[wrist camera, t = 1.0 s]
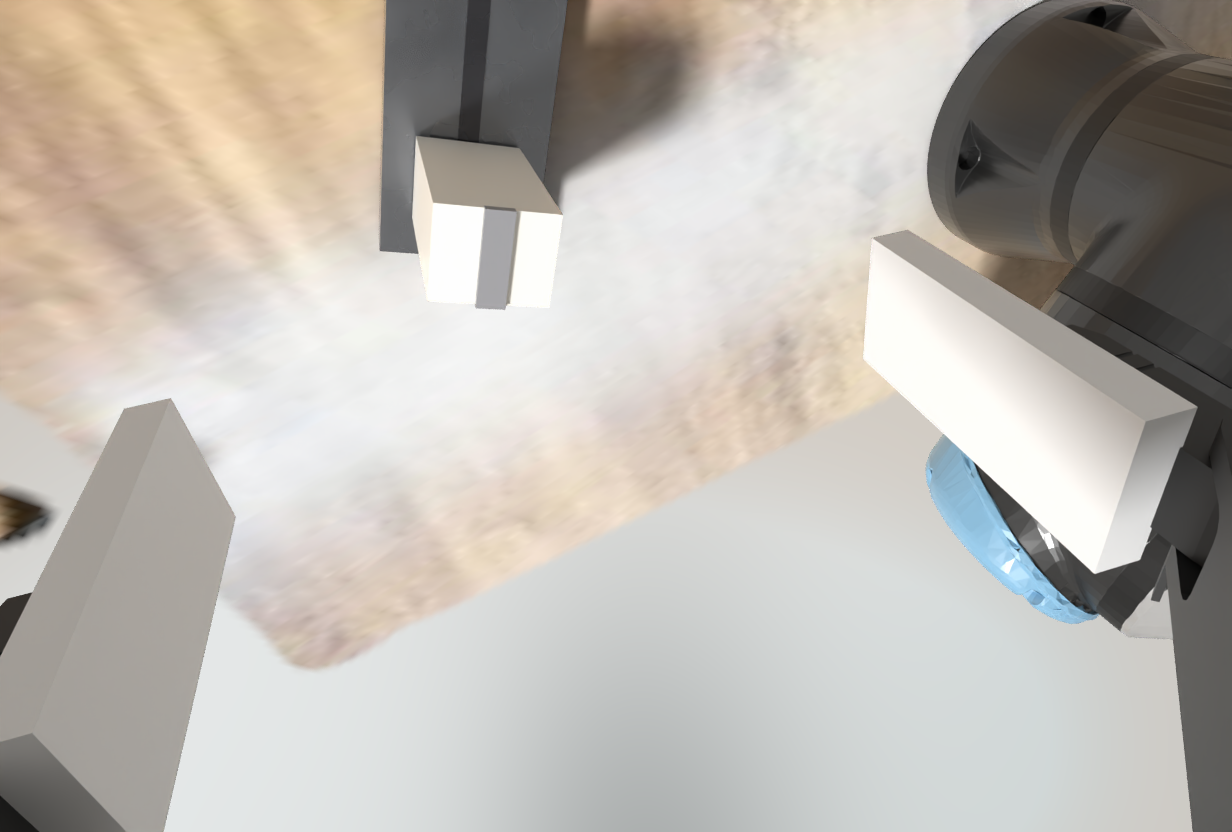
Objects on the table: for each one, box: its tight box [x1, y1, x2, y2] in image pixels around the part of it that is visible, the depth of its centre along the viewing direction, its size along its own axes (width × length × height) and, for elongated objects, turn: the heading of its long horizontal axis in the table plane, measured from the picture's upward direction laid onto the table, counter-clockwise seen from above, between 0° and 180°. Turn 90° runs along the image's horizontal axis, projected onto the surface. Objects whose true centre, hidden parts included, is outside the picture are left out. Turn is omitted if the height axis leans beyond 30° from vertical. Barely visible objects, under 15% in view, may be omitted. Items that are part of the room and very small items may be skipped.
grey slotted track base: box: [379, 0, 568, 254], centre depth 36 cm, size 22×8×2 cm, turn 169°
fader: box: [412, 136, 563, 310], centre depth 35 cm, size 4×5×10 cm
